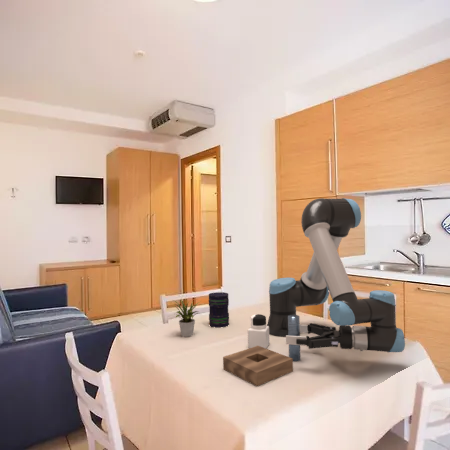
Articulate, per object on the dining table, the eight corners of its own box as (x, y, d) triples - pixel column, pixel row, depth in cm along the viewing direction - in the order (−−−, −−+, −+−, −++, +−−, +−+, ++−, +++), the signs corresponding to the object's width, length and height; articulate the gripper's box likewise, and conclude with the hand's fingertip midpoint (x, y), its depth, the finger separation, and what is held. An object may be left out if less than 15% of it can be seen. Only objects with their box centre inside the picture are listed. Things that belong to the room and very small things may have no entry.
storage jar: (217, 321, 167) (216, 291, 167) (233, 323, 161) (232, 293, 161) (204, 325, 159) (204, 294, 159) (221, 329, 153) (220, 296, 153)
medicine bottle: (269, 343, 132) (268, 313, 132) (266, 349, 125) (265, 318, 125) (252, 342, 134) (251, 312, 134) (247, 348, 127) (247, 317, 128)
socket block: (223, 369, 108) (223, 356, 109) (258, 356, 118) (258, 345, 118) (256, 386, 96) (256, 372, 96) (293, 371, 106) (292, 358, 106)
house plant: (161, 338, 142) (160, 300, 142) (178, 329, 155) (177, 294, 155) (191, 341, 136) (190, 302, 137) (205, 331, 149) (204, 295, 150)
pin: (286, 359, 116) (285, 316, 116) (294, 356, 118) (292, 314, 118) (295, 362, 113) (294, 318, 113) (302, 359, 115) (301, 316, 115)
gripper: (356, 363, 98) (284, 357, 104) (348, 336, 122) (290, 333, 128) (356, 338, 98) (284, 333, 104) (348, 316, 122) (290, 314, 128)
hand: (287, 333), depth 116 cm, fingers open, 13 cm apart
